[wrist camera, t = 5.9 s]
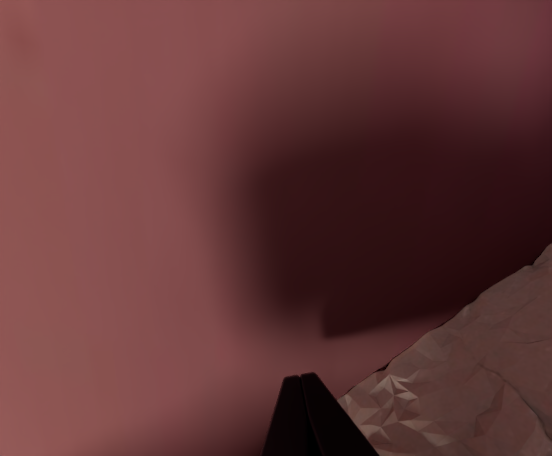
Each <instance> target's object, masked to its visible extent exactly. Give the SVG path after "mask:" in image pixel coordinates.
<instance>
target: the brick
mask: <svg viewBox="0 0 552 456" xmlns="http://www.w3.org/2000/svg"><path fill="white" fill-rule="evenodd" d="M337 401H338V403H339V404H340V405H341V406H342V408H343V409H344V410H345V411H346V413H347V414H348V415H349V417H350V418H351V419H352V420H353V422H354V423H355V424H356V426H357V427H358V428H359V429H360V431H361V432H362V433H363V435H364V436H365V437H366V438H367V440H368V441H369V442H370V444H371V445H372V446H373V447H374V449H375V450H376V451H377V453H378V454H379V455H380V456H552V243H551V244H550V245H548V246H547V247H546V248H545V250H544V251H543V252H542V254H541V255H540V256H539V257H538V258H537V259H536V260H535V262H534V264H533V265H531V266H524V267H523V268H522V269H520V270H519V271H517V272H516V273H514V274H512V275H510V276H508V277H507V278H505V279H503V280H501V281H500V282H498V283H496V284H495V285H493V286H492V287H490V288H488V289H487V290H485V291H484V292H482V293H481V294H480V295H479V296H478V298H477V299H476V300H475V301H474V302H472V303H470V304H468V305H466V306H465V307H464V308H463V309H462V310H461V311H460V312H459V313H458V314H457V315H456V316H455V317H454V318H453V319H451V320H449V321H448V322H446V323H445V324H444V325H443V326H441V327H438V328H436V329H433V330H431V331H429V332H427V333H426V334H425V335H424V336H422V337H421V338H420V339H419V340H418V341H417V342H415V343H414V344H413V345H412V346H411V347H409V348H408V349H407V350H405V351H404V352H402V353H401V354H399V355H398V356H397V357H395V358H394V359H392V361H391V362H390V364H389V365H388V367H387V368H386V370H382V371H378V372H374V373H373V374H371V375H370V376H368V377H367V378H366V379H364V380H363V381H361V382H360V383H359V384H357V385H356V386H355V387H353V388H352V389H351V390H350V391H349V392H348V393H346V394H345V395H344V396H342V397H341V398H339V399H338V400H337Z"/></svg>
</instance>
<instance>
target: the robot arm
mask: <svg viewBox="0 0 552 456" xmlns="http://www.w3.org/2000/svg"><path fill="white" fill-rule="evenodd" d="M260 456H380V455H379V454H378V453H377V451H376V450H375V449H374V447H373V446H372V445H371V444H370V442H369V441H368V440H367V438H366V437H365V436H364V435H363V433H362V432H361V431H360V429H359V428H358V427H357V426H356V424H355V423H354V422H353V420H352V419H351V418H350V417H349V415H348V414H347V413H346V411H345V410H344V409H343V408H342V406H341V405H340V404H339V403H338V401H337V400H336V399H335V397H334V396H333V395H332V394H331V392H330V391H329V390H328V388H327V387H326V386H325V385H324V383H323V382H322V381H321V379H320V378H319V377H318V376H317V374H316V373H314V372H311V373H305V374H301V375H300V377H299V376H298V375H293V376H287V377H285V378H284V380H283V382H282V386H281V389H280V392H279V395H278V399H277V402H276V405H275V408H274V412H273V415H272V418H271V421H270V425H269V428H268V431H267V434H266V438H265V441H264V444H263V447H262V451H261V454H260Z"/></svg>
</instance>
